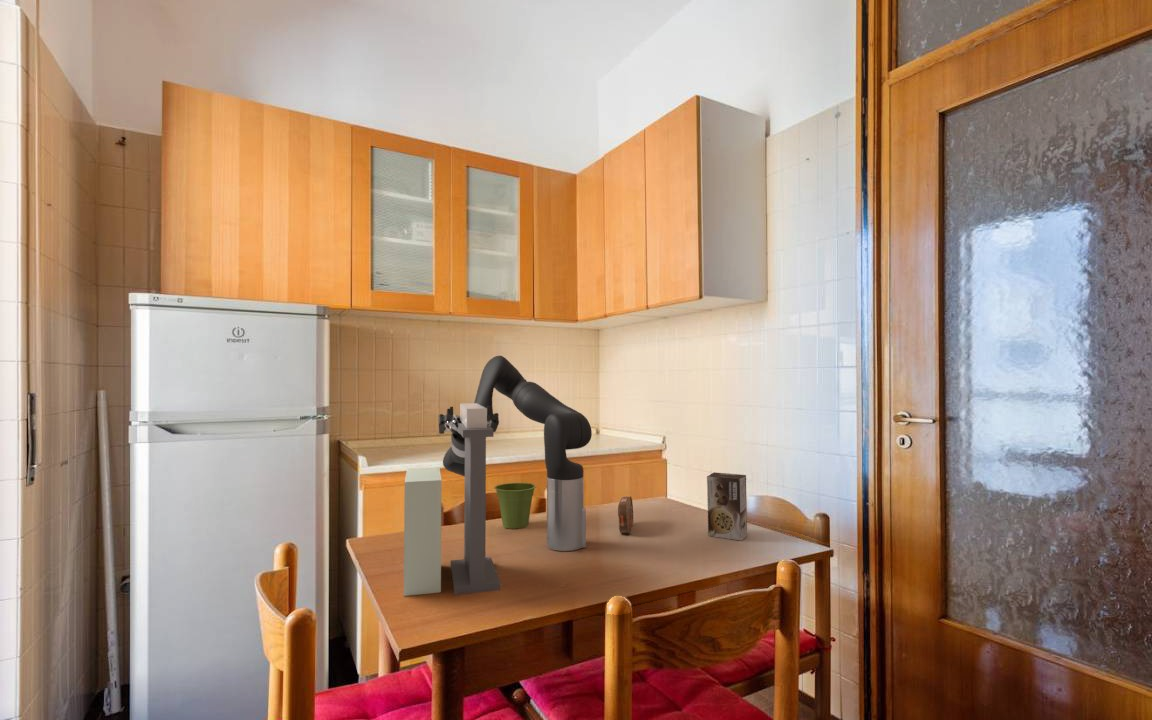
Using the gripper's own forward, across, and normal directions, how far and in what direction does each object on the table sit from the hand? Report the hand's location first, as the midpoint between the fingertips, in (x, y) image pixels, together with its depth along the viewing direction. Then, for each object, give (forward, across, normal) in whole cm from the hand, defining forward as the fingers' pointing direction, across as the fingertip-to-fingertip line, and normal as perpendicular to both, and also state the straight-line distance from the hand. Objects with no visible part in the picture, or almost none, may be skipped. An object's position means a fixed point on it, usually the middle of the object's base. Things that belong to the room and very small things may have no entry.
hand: (470, 409), depth 128 cm
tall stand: (-8, 0, +36) cm, 37 cm away
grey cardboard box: (-19, +68, +29) cm, 77 cm away
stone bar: (+3, 0, +5) cm, 6 cm away
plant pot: (-41, +15, +17) cm, 46 cm away
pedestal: (-10, -10, +35) cm, 37 cm away
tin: (-30, +44, +23) cm, 58 cm away
